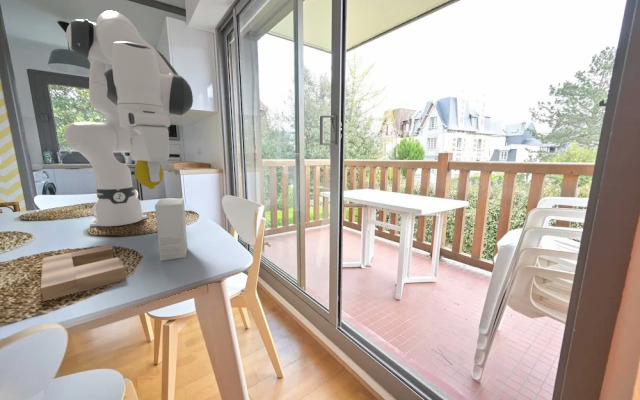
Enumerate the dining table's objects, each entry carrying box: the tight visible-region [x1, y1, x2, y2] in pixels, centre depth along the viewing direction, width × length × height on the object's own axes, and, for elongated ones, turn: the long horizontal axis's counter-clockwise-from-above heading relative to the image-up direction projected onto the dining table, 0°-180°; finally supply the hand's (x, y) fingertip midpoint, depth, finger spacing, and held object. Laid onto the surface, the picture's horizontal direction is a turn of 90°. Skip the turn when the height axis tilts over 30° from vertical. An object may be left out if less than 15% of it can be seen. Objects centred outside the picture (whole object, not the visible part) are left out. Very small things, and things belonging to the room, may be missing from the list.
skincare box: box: [154, 197, 188, 262], centre depth 72 cm, size 8×7×16 cm
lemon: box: [134, 160, 164, 190], centre depth 61 cm, size 6×6×8 cm
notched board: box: [40, 244, 127, 302], centre depth 61 cm, size 20×13×3 cm, turn 46°
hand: (150, 180), depth 61 cm, fingers closed on lemon, 5 cm apart
